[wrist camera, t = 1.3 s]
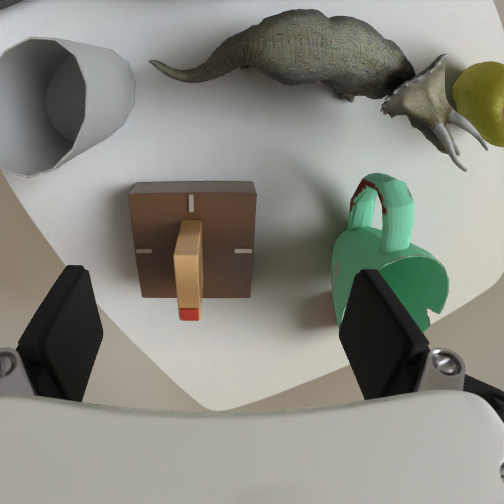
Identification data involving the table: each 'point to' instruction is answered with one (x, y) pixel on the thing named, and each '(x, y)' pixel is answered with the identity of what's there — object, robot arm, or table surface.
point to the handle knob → (189, 270)
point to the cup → (59, 102)
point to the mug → (387, 251)
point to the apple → (482, 99)
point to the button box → (7, 3)
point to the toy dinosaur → (339, 68)
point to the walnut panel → (213, 234)
